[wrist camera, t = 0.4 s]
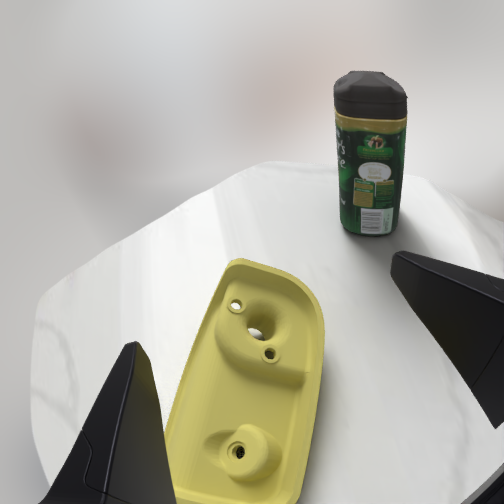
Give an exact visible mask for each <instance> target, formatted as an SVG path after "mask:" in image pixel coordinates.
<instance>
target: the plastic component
mask: <svg viewBox="0 0 504 504" xmlns="http://www.w3.org/2000/svg"><path fill="white" fill-rule="evenodd" d="M231 303H238V304H239V305H240V307H241V308H240V309H239V310H235V309H233V308H232V306H231ZM248 328H254V329H257V330H259V331H260V332H261V333H262V334H263V336H264V338H265V341H261V340H258V339H255V338H254V337H253V336H252V335H251V334H250V333H249V331H248ZM324 341H325V330H324V319H323V314H322V310H321V307H320V305H319V303H318V300H317V299H316V297H315V296H314V294H313V293H312V291H311V290H310V289H309V288H308V287H307V286H306V285H305V284H304V283H303V282H302V281H300V280H299V279H298V278H296V277H294V276H293V275H291V274H289V273H287V272H285V271H282V270H279V269H276V268H273V267H270V266H267V265H263V264H260V263H257V262H253V261H250V260H247V259H244V258H238V259H235V260H232V261H231V262H230V263H229V264H228V265H227V267H226V269H225V271H224V273H223V275H222V277H221V279H220V281H219V284H218V286H217V288H216V290H215V292H214V295H213V297H212V299H211V301H210V304H209V306H208V308H207V311H206V313H205V316H204V318H203V320H202V323H201V325H200V328H199V330H198V333H197V335H196V338H195V341H194V343H193V346H192V348H191V351H190V354H189V357H188V359H187V362H186V365H185V368H184V371H183V374H182V377H181V380H180V383H179V386H178V389H177V392H176V396H175V399H174V402H173V405H172V409H171V412H170V415H169V419H168V422H167V425H166V429H165V432H164V438H165V444H166V450H167V456H168V462H169V468H170V473H171V478H172V483H173V488H174V492H175V497H176V501H177V504H295V503H296V502H297V500H298V498H299V496H300V493H301V489H302V484H303V479H304V475H305V470H306V465H307V460H308V455H309V450H310V445H311V439H312V433H313V428H314V422H315V415H316V409H317V402H318V396H319V388H320V381H321V373H322V365H323V355H324ZM267 351H271V352H272V353H273V355H274V358H273V359H268V358H267V357H265V354H264V352H267ZM241 446H242V447H243V448H244V449H245V454H244V456H243V457H242V458H241V459H238V458H237V456H236V451H237V449H238V448H239V447H241Z"/></svg>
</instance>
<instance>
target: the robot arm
mask: <svg viewBox="0 0 504 504" xmlns="http://www.w3.org/2000/svg"><path fill="white" fill-rule="evenodd" d="M390 273H391V277H392V279H393V281H394V282H395V284H396V285H397V287H398V288H399V290H400V291H401V293H402V294H403V296H404V297H405V299H406V300H407V302H408V304H409V305H410V307H411V308H412V309H413V311H414V312H415V313H416V315H417V316H418V317H419V319H420V320H421V321H422V322H423V324H424V325H425V326H426V328H427V329H428V330H429V332H430V333H431V334H432V336H433V337H434V338H435V340H436V341H437V342H438V344H439V345H440V346H441V348H442V349H443V351H444V352H445V353H446V355H447V356H448V358H449V359H450V360H451V362H452V363H453V365H454V366H455V368H456V369H457V370H458V372H459V373H460V375H461V376H462V378H463V379H464V381H465V382H466V384H467V385H468V387H469V388H470V390H471V392H472V393H473V395H474V396H475V398H476V399H477V401H478V403H479V404H480V406H481V407H482V409H483V411H484V412H485V414H486V416H487V417H488V419H489V421H490V422H491V424H492V426H493V427H494V428H495V429H496V428H497V427H498V426H500V425H501V424H502V423H503V422H504V279H501V278H497V277H494V276H491V275H487V274H486V275H485V274H484V273H481V272H477V271H474V270H471V269H467V268H464V267H460V266H457V265H454V264H450V263H447V262H443V261H440V260H436V259H433V258H429V257H425V256H422V255H418V254H414V253H411V252H407V251H399V252H397V253H395V254H393V256H392V263H391V272H390ZM82 430H83V431H82ZM82 430H81V431H80V433H79V435H78V438H77V440H76V442H75V444H74V446H73V448H72V450H71V452H70V454H69V456H68V458H67V459H66V461H65V463H64V465H63V467H62V468H61V470H60V472H59V474H58V476H57V477H56V479H55V481H54V483H53V484H52V486H51V488H50V490H49V492H48V493H47V495H46V496H45V498H44V499H43V500H42V501H41V502H40V503H38V504H177V501H176V497H175V492H174V488H173V483H172V478H171V473H170V468H169V462H168V456H167V450H166V444H165V438H164V431H163V424H162V417H161V409H160V403H159V399H158V394H157V390H156V386H155V381H154V377H153V372H152V367H151V363H150V360H149V357H148V356H147V354H146V353H145V351H144V350H143V348H142V346H141V345H140V343H139V342H137V341H134V342H131V343H127V344H125V346H124V347H123V349H122V351H121V353H120V355H119V357H118V358H117V360H116V362H115V364H114V366H113V368H112V370H111V371H110V373H109V375H108V377H107V379H106V381H105V383H104V385H103V387H102V389H101V391H100V393H99V395H98V397H97V399H96V401H95V403H94V405H93V407H92V409H91V411H90V413H89V415H88V417H87V419H86V421H85V423H84V425H83V427H82ZM461 504H504V463H503V464H502V465H501V466H500V467H499V469H498V470H497V471H496V472H495V473H494V474H493V475H492V476H491V477H490V478H489V479H488V480H487V481H486V482H484V483H483V484H482V485H481V486H480V487H479V488H478V489H477V490H476V491H475V492H474V493H473V494H471V495H470V496H469V497H468V498H467V499H466V500H464V501H463V502H462V503H461Z"/></svg>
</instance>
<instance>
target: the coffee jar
mask: <svg viewBox="0 0 504 504" xmlns="http://www.w3.org/2000/svg"><path fill="white" fill-rule="evenodd" d="M407 98H408V97H407V96H406V93H405V91H404V89H403V88H402V87H401V86H400V85H399V84H398V83H397V82H396V81H394V80H393V79H391V78H389V77H388V76H386V75H385V74H384V73H382V72H373V71H372V72H371V71H350V72H349V73H348V74H347V75H345V76H343V77H341V78H340V79H338V80H337V81H336V83H335V85H334V109H335V123H336V139H337V155H338V171H339V198H340V220H341V223H342V225H343V226H344V228H346V229H347V230H349V231H351V232H354V233H357V234H360V235H365V236H380V235H386V234H389V233H391V232H392V231H394V230H395V228H396V226H397V222H398V216H399V209H400V200H401V190H402V180H403V169H404V155H405V140H406V126H407Z"/></svg>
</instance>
